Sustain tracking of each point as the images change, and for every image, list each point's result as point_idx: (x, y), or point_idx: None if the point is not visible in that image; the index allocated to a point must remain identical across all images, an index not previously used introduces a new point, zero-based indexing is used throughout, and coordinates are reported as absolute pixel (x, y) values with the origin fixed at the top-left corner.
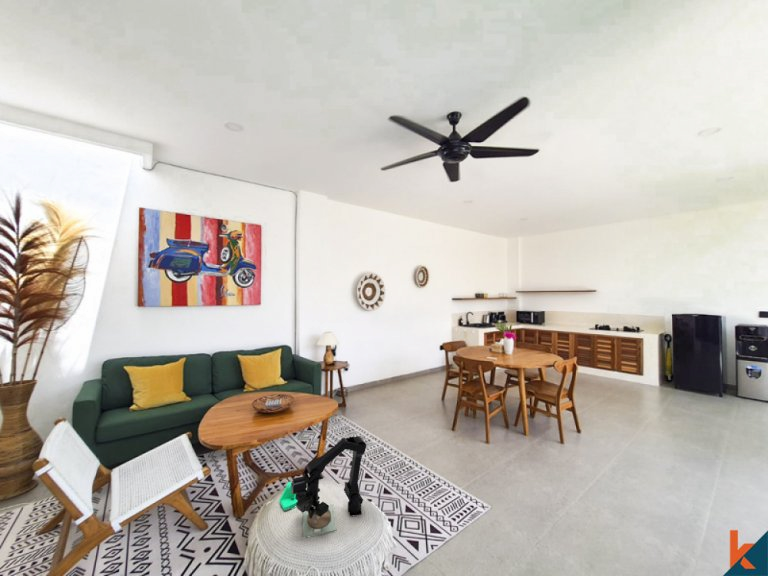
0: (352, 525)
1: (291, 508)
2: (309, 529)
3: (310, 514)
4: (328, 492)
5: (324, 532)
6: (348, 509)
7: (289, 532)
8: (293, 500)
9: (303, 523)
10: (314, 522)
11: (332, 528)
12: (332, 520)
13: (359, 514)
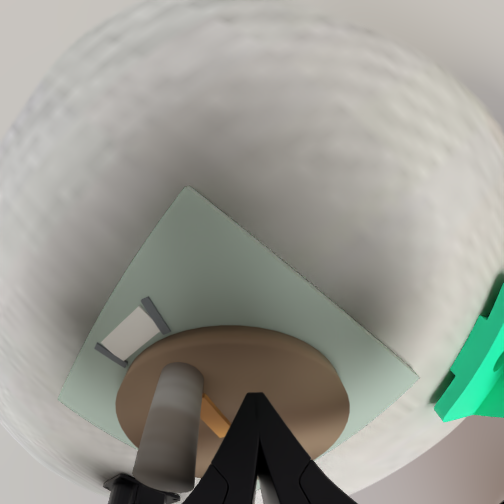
0: (65, 440)
1: (481, 321)
2: (200, 296)
3: (232, 451)
4: (342, 488)
5: (81, 350)
6: (138, 498)
7: (369, 146)
8: (496, 359)
9: (325, 306)
10: (168, 381)
11: (77, 398)
12: None
13: (106, 482)
